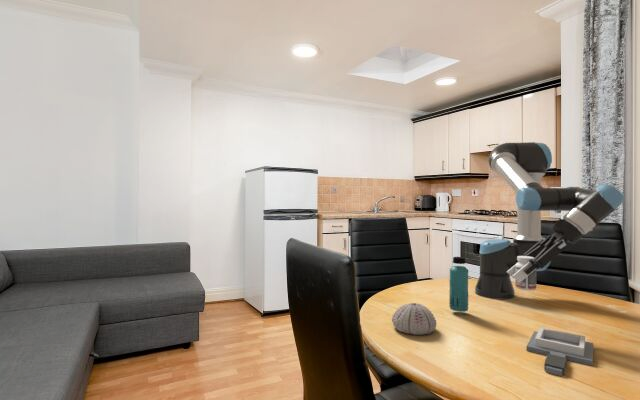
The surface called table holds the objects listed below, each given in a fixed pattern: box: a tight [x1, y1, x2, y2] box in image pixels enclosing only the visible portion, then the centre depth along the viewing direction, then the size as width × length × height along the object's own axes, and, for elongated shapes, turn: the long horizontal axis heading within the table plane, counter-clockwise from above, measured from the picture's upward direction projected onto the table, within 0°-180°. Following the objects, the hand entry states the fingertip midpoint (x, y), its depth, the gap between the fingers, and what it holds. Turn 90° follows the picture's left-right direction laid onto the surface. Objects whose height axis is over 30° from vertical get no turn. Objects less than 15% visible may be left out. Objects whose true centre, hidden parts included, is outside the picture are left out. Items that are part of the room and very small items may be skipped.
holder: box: [526, 326, 594, 377], centre depth 92 cm, size 14×25×3 cm, turn 142°
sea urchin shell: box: [391, 302, 437, 336], centre depth 111 cm, size 13×14×8 cm
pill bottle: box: [514, 256, 537, 292], centre depth 112 cm, size 6×6×10 cm
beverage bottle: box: [448, 256, 470, 313], centre depth 127 cm, size 6×7×20 cm
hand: (513, 277), depth 113 cm, fingers closed on pill bottle, 6 cm apart
